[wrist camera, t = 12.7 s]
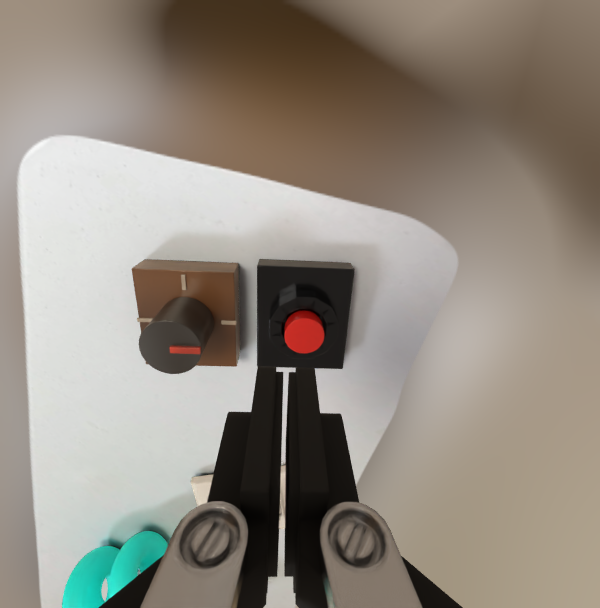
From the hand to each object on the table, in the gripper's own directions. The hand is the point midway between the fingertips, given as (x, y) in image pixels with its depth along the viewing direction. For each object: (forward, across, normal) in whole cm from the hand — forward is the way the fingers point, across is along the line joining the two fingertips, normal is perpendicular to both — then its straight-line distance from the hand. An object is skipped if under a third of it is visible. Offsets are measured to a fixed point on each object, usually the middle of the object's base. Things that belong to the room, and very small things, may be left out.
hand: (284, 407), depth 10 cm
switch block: (+24, -2, +8) cm, 25 cm away
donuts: (+23, +20, +46) cm, 55 cm away
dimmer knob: (+21, +9, +8) cm, 24 cm away
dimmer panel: (+24, +9, +8) cm, 27 cm away
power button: (+20, -2, +8) cm, 22 cm away
